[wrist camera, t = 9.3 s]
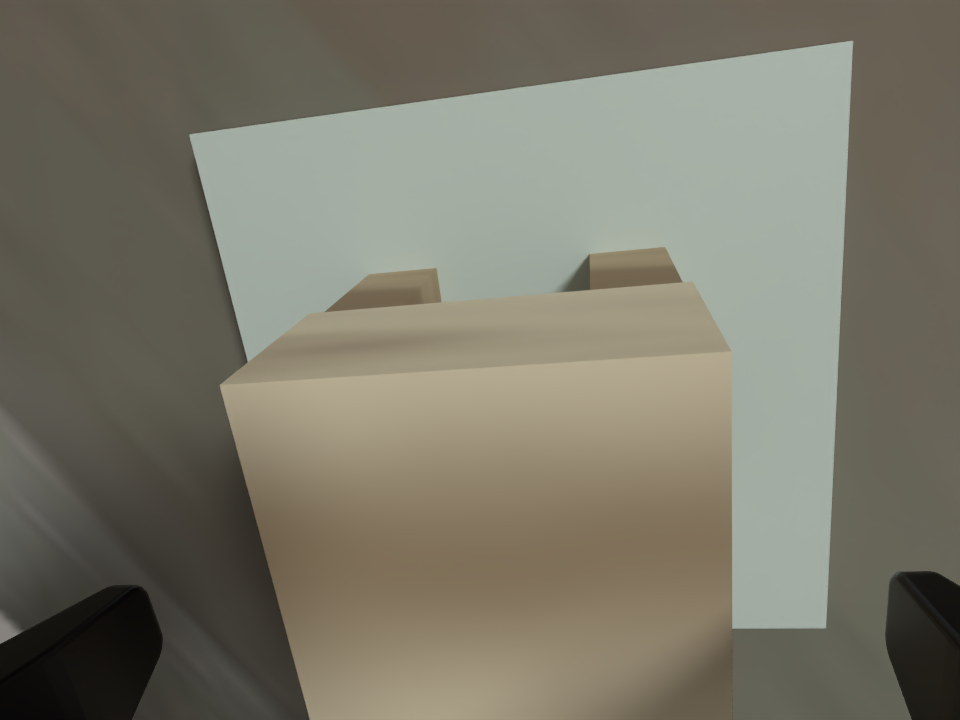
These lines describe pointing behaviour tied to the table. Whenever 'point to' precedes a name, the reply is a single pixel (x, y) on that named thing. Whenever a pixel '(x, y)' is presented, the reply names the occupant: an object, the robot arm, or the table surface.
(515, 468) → the tan box with tabs
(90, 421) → the table surface
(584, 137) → the board
